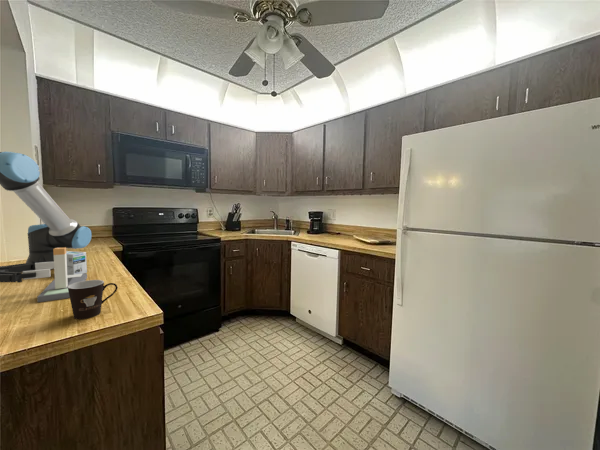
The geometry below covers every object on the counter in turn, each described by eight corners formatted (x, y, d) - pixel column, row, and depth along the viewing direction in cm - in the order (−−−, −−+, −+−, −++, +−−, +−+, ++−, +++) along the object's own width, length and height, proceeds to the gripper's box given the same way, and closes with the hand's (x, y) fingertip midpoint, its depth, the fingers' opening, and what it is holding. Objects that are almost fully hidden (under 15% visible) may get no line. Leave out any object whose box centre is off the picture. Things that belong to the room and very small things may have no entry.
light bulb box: (87, 272, 121) (86, 251, 120) (73, 276, 114) (72, 254, 113) (68, 271, 122) (67, 250, 121) (53, 275, 115) (52, 253, 114)
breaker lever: (57, 286, 93) (55, 247, 92) (67, 285, 95) (66, 247, 94) (55, 289, 91) (53, 249, 90) (66, 287, 93) (64, 248, 91)
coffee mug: (64, 323, 71) (62, 290, 70) (74, 311, 79) (73, 281, 78) (113, 316, 76) (112, 285, 76) (118, 305, 84) (117, 277, 83)
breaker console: (57, 280, 107) (57, 275, 107) (87, 277, 113) (86, 273, 113) (37, 302, 85) (37, 296, 84) (76, 297, 90) (75, 291, 90)
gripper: (-17, 277, 89) (62, 270, 102) (-59, 300, 69) (46, 287, 82) (-19, 257, 89) (61, 253, 101) (-62, 274, 69) (45, 266, 81)
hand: (54, 268), depth 91 cm, fingers open, 13 cm apart
